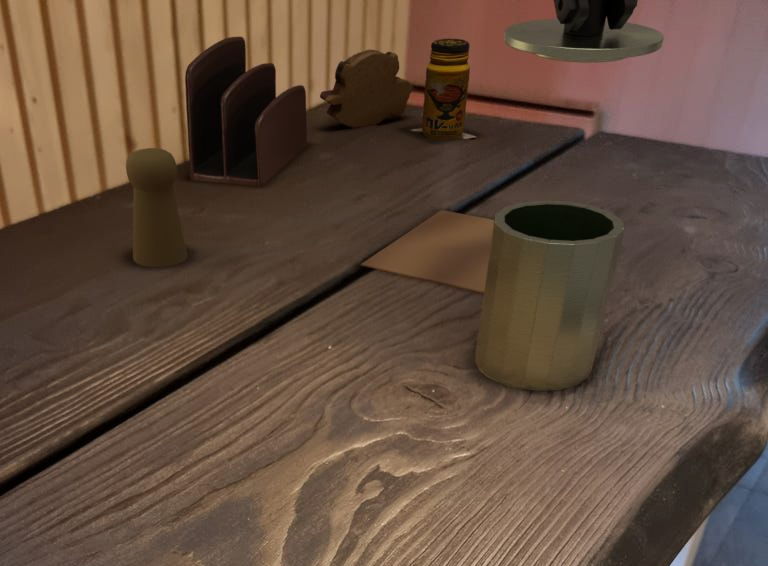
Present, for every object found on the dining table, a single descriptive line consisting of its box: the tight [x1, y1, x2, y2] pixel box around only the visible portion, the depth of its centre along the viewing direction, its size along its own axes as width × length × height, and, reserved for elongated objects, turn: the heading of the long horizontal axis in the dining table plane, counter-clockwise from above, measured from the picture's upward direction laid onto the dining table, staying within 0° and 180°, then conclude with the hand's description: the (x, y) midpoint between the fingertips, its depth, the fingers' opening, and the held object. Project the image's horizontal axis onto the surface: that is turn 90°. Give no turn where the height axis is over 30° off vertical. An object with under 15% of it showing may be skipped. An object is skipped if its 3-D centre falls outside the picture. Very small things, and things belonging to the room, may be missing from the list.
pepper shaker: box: [125, 147, 188, 268], centre depth 97 cm, size 6×6×11 cm
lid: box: [503, 0, 665, 64], centre depth 65 cm, size 11×11×6 cm
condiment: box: [411, 37, 477, 140], centre depth 132 cm, size 7×8×12 cm
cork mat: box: [360, 209, 494, 294], centre depth 101 cm, size 20×20×1 cm
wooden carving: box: [319, 49, 414, 129], centre depth 137 cm, size 16×5×10 cm, turn 130°
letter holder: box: [184, 36, 308, 188], centre depth 122 cm, size 10×20×14 cm, turn 161°
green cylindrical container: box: [474, 200, 625, 392], centre depth 78 cm, size 10×10×12 cm
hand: (600, 21), depth 65 cm, fingers closed on lid, 3 cm apart
